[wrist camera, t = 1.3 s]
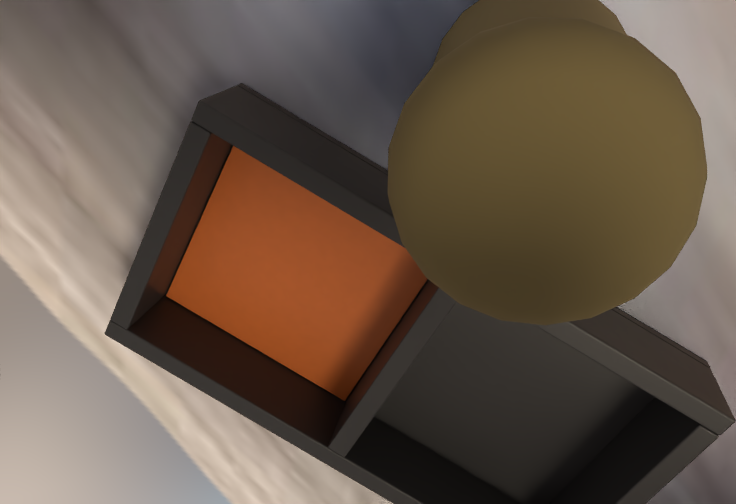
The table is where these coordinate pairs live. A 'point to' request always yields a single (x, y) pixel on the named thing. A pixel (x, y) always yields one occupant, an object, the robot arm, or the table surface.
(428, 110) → the olive knobbed cylinder
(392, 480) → the divided tray
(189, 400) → the table surface
